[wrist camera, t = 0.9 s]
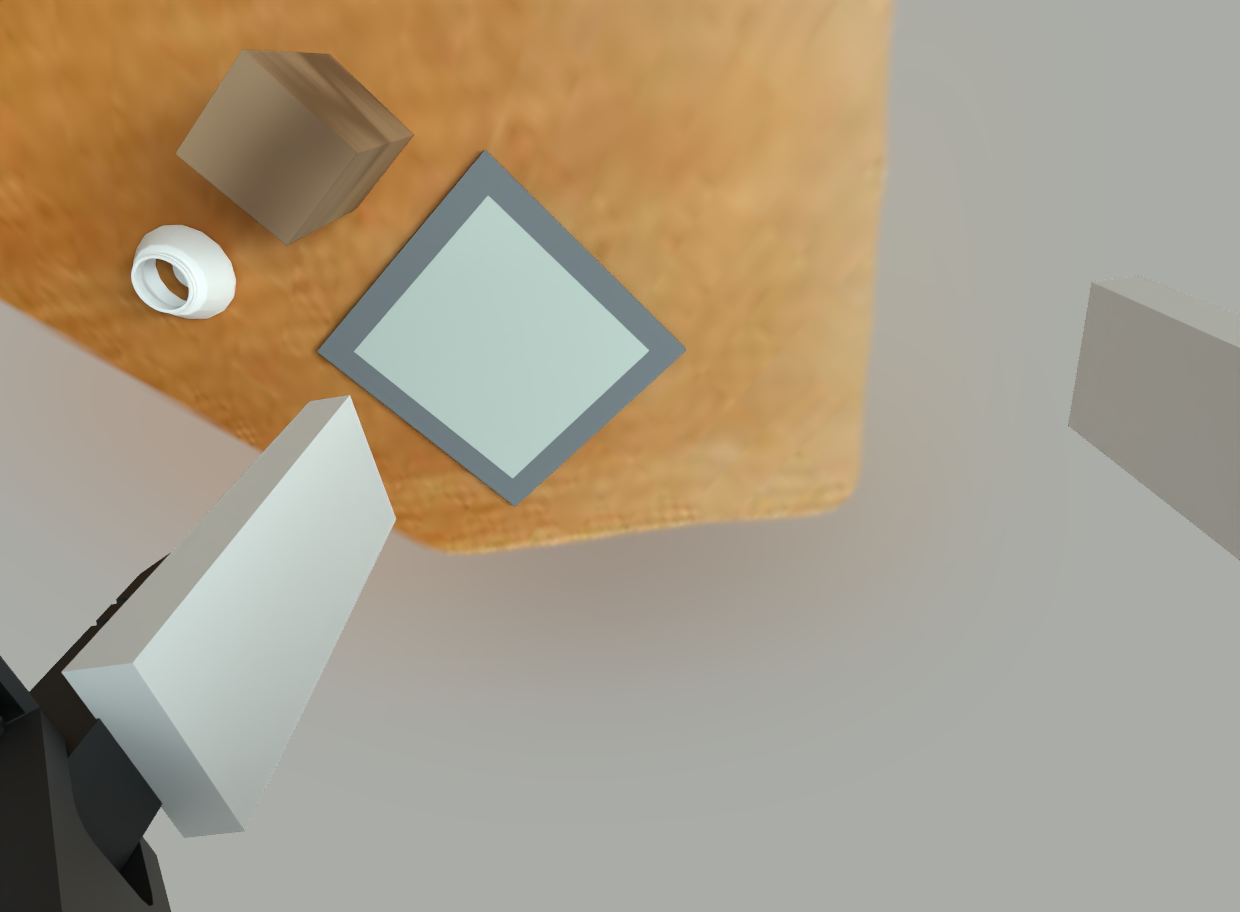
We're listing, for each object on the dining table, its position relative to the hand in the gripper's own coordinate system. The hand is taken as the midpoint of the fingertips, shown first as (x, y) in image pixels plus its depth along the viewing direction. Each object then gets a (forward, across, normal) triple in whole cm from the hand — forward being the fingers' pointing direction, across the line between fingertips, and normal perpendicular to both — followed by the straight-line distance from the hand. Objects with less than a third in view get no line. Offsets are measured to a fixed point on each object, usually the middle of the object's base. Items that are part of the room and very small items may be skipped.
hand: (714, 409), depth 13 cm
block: (+27, -15, +5) cm, 31 cm away
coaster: (+27, -10, -7) cm, 30 cm away
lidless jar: (+28, -26, 0) cm, 38 cm away
